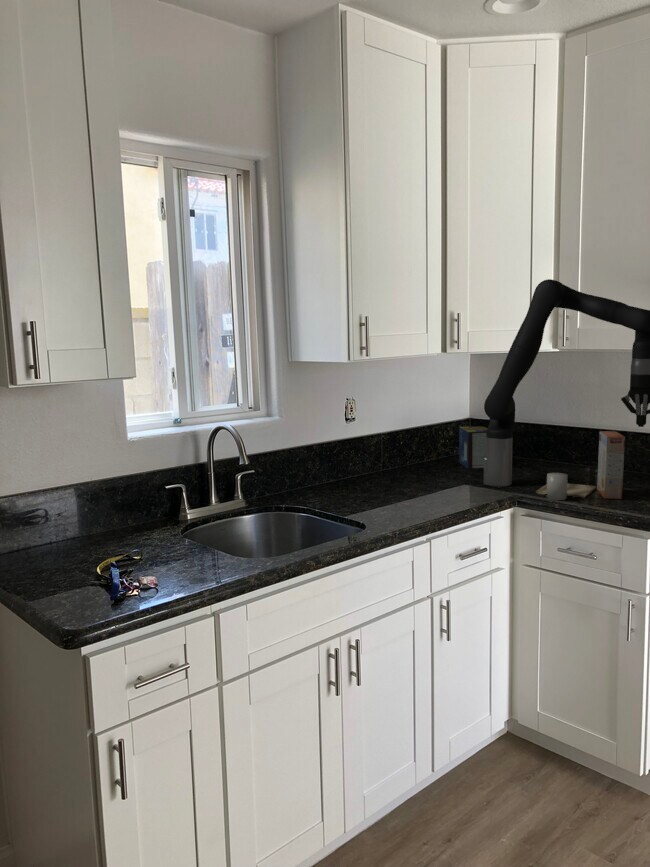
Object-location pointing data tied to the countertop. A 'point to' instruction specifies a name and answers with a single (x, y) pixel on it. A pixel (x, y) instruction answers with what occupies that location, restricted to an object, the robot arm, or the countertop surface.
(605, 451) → the cracker box
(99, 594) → the countertop surface
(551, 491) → the white rounded dome
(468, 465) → the protein box
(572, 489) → the maple board
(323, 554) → the countertop surface
